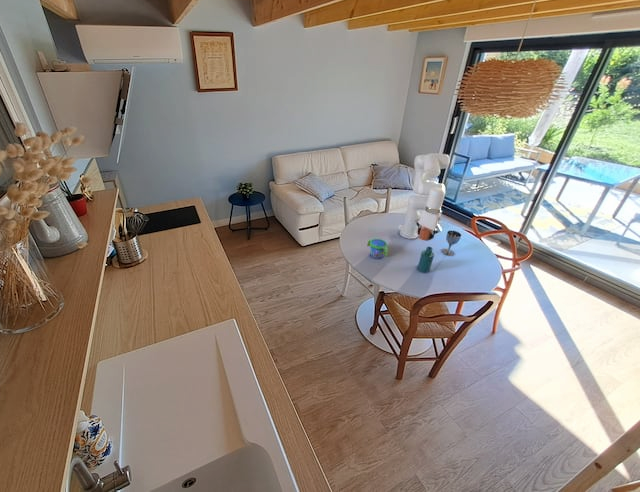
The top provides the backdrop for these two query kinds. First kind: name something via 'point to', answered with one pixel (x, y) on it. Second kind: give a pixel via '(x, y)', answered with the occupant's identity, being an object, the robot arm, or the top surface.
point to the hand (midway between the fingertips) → (424, 236)
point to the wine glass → (451, 241)
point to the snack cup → (377, 248)
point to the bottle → (426, 260)
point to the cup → (424, 233)
